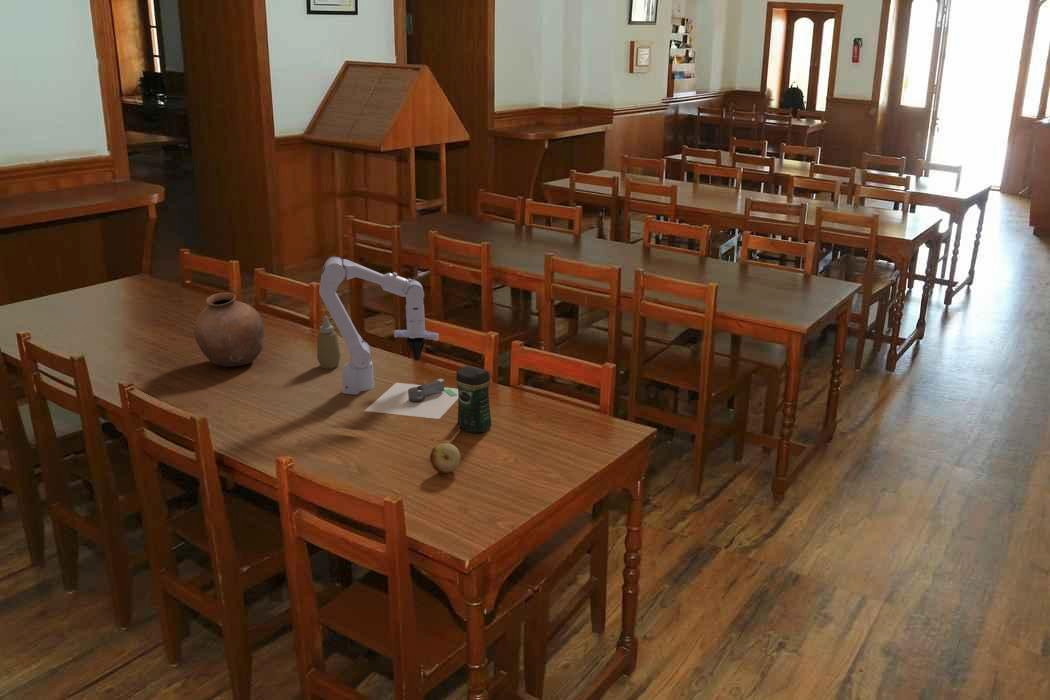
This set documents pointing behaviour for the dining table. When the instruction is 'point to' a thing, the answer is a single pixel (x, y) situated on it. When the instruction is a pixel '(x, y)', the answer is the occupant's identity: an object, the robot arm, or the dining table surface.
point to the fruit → (445, 457)
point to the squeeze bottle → (328, 346)
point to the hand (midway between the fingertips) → (417, 359)
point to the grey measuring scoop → (425, 390)
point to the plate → (400, 405)
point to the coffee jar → (473, 399)
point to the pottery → (229, 331)
